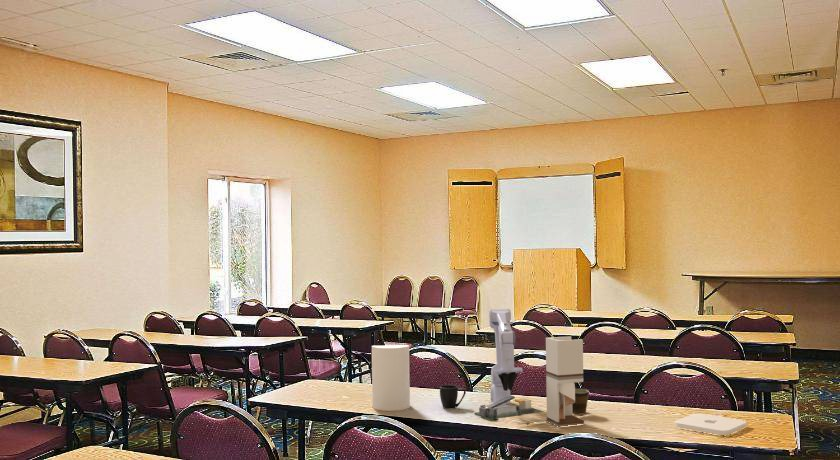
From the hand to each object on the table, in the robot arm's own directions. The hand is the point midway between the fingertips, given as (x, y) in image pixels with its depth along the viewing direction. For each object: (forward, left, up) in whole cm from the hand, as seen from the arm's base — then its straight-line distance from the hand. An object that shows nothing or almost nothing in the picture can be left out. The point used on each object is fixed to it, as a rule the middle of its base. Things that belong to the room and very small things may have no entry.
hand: (507, 390), depth 325 cm
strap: (0, -4, -6) cm, 7 cm away
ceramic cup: (+15, +25, -11) cm, 31 cm away
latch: (0, +8, -10) cm, 12 cm away
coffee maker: (+26, +11, -11) cm, 30 cm away
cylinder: (-40, -37, -11) cm, 56 cm away
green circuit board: (0, +1, -10) cm, 10 cm away
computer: (+60, +57, -11) cm, 83 cm away
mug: (-23, -14, -11) cm, 29 cm away
